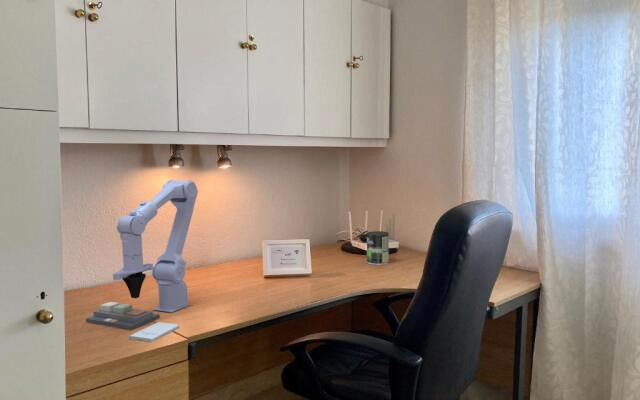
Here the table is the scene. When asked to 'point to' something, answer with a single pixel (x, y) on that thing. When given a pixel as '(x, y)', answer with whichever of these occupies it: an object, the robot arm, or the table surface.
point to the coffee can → (377, 248)
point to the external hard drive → (154, 332)
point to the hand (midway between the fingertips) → (135, 297)
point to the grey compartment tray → (122, 319)
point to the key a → (108, 306)
